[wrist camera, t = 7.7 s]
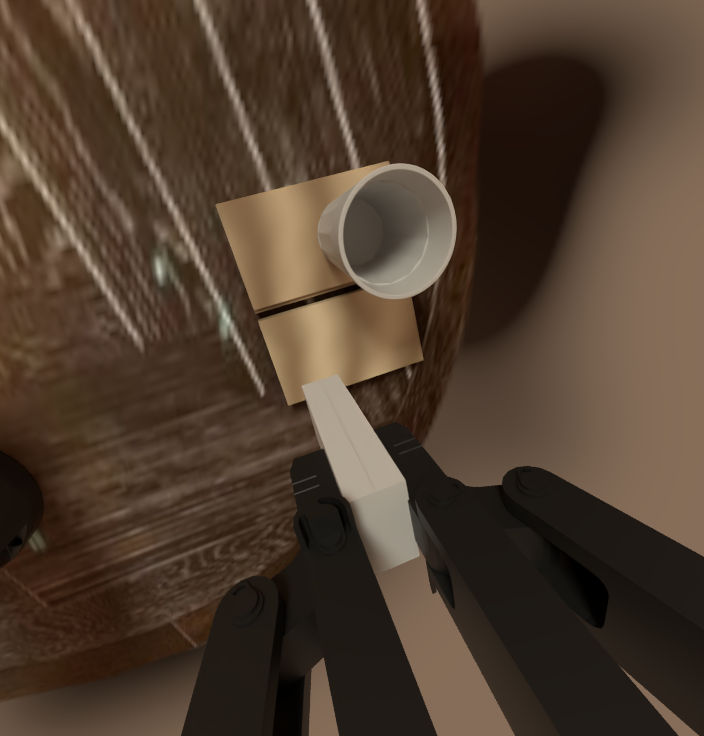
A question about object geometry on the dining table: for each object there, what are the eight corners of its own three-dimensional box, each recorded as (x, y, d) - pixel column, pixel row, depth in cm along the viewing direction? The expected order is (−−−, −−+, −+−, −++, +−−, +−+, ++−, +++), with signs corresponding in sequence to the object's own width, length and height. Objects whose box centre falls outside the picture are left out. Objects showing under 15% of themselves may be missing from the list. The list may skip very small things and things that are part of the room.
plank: (287, 401, 37) (288, 405, 36) (258, 319, 34) (258, 321, 33) (418, 356, 39) (423, 360, 38) (403, 275, 36) (407, 276, 35)
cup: (391, 271, 36) (456, 290, 25) (313, 282, 34) (345, 308, 23) (386, 181, 32) (457, 158, 22) (299, 189, 31) (330, 169, 20)
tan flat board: (255, 311, 34) (255, 314, 33) (216, 205, 30) (215, 204, 29) (401, 268, 36) (406, 269, 35) (384, 162, 32) (388, 160, 31)
